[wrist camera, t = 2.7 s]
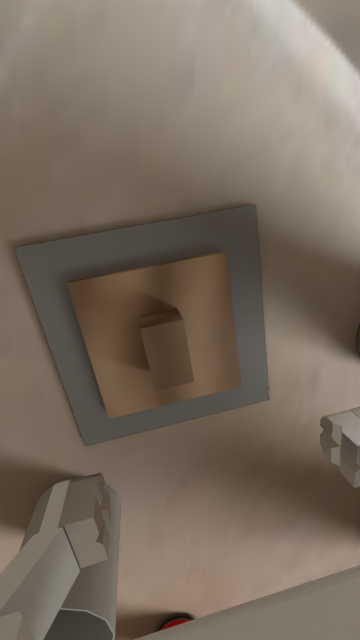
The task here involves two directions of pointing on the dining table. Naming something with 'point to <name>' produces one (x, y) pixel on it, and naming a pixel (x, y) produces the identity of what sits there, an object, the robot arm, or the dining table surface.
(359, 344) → the thermos
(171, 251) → the mat
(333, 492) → the dining table surface
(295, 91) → the dining table surface
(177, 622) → the soda can
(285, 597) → the robot arm
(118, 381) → the lid
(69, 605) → the cup
